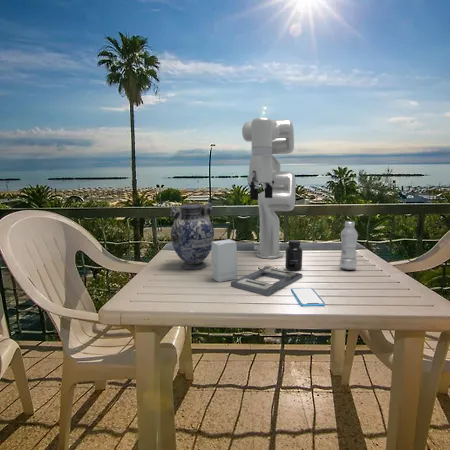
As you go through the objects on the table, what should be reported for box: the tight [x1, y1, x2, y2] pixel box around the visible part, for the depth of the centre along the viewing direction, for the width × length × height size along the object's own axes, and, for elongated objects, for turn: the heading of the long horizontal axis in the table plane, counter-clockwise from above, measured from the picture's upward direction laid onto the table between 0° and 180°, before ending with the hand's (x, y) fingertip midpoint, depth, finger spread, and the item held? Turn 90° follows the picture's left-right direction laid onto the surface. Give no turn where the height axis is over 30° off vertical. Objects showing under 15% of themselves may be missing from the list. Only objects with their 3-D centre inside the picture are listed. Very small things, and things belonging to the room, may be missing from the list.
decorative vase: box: [169, 201, 215, 271], centre depth 139 cm, size 21×18×28 cm
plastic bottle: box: [339, 220, 359, 271], centre depth 131 cm, size 6×7×20 cm
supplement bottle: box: [284, 239, 304, 272], centre depth 133 cm, size 7×7×12 cm
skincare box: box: [211, 238, 238, 283], centre depth 122 cm, size 8×6×15 cm
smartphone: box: [290, 287, 326, 307], centre depth 103 cm, size 8×1×15 cm
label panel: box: [230, 266, 303, 297], centre depth 119 cm, size 16×24×2 cm, turn 140°
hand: (261, 198), depth 122 cm, fingers open, 9 cm apart
